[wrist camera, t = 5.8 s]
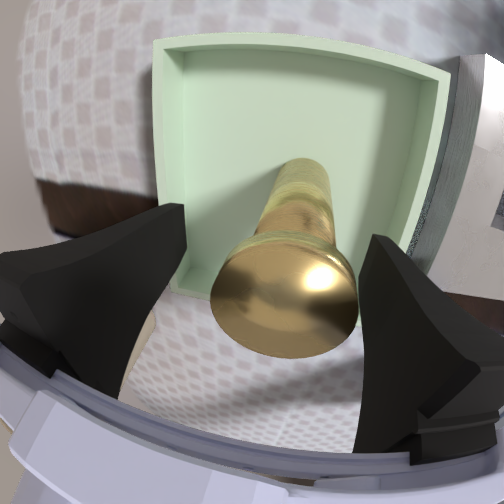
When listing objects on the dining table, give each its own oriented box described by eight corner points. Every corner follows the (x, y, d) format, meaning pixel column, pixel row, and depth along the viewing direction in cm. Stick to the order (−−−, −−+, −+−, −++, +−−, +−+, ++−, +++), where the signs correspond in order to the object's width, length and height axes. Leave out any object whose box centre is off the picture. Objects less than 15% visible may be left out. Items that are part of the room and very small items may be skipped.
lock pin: (330, 220, 16) (334, 366, 8) (265, 208, 17) (212, 343, 9) (344, 156, 14) (380, 269, 6) (271, 143, 14) (208, 237, 6)
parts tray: (367, 298, 20) (371, 328, 17) (187, 266, 22) (171, 292, 19) (428, 73, 10) (451, 73, 8) (179, 44, 12) (153, 39, 10)
